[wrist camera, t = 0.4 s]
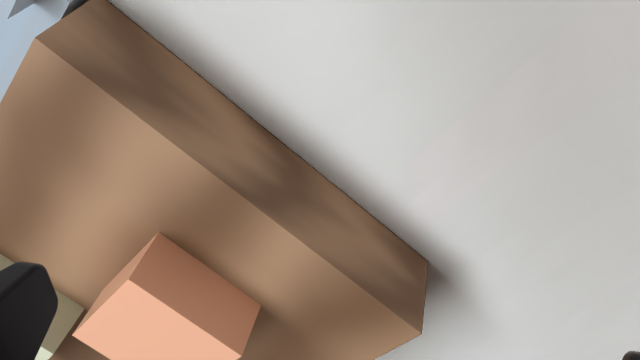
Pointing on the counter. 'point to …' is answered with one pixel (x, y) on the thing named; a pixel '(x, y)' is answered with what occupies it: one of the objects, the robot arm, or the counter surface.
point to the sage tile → (54, 320)
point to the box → (25, 30)
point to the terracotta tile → (168, 310)
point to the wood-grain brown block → (188, 196)
